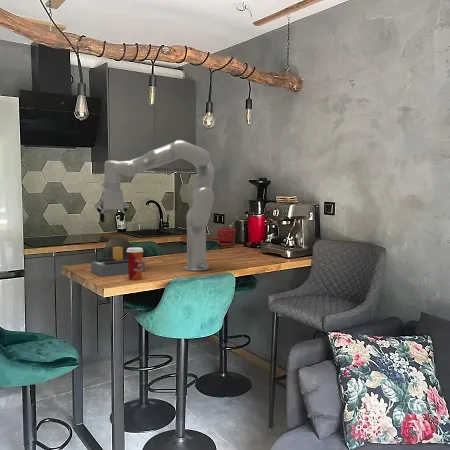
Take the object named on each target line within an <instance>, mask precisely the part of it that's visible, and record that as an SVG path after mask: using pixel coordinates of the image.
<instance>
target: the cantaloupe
mask: <svg viewBox="0 0 450 450" xmlns="http://www.w3.org/2000/svg"><path fill="white" fill-rule="evenodd" d="M118 246H119V247H122V248H123V257H127V252H126V251H127V248H132V244H131V242H130V241H129V239H128V238H125V237H123V236H117V237H112V238H110V239H108V241H107V242H106V245H105V247H104V252H105V255H106V258H113V247H118Z"/></svg>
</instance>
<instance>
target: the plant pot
mask: <svg viewBox="0 0 450 450" xmlns="http://www.w3.org/2000/svg"><path fill="white" fill-rule="evenodd" d="M216 232H217V240H218V242H219V244H220V245H219V244H218V245H219V246H222V247H223V246H225V247H229V246H233V245H234V244H235V242H234V241H235V239H236V234H237V233H236V232H237V229H236V228H232V227H231V228H230V227H229V228H228V227H218V228H217V231H216Z"/></svg>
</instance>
